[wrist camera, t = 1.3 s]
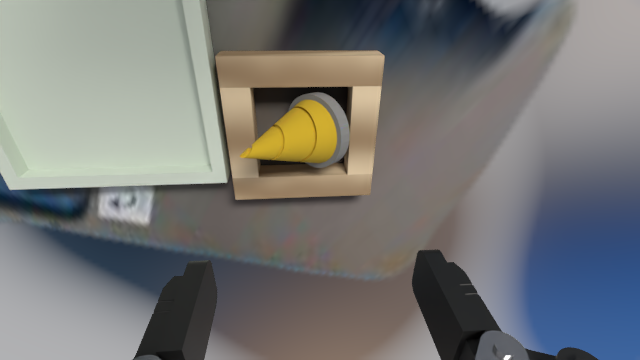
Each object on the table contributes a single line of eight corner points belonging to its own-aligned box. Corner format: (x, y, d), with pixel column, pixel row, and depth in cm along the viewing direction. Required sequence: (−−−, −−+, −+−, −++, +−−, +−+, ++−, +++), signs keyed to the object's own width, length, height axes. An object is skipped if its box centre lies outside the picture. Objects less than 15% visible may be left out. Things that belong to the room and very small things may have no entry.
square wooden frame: (220, 51, 23) (215, 56, 21) (377, 50, 24) (384, 55, 22) (238, 186, 28) (235, 199, 27) (365, 182, 29) (370, 194, 28)
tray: (-102, -74, 18) (-138, -79, 17) (196, -67, 20) (188, -71, 18) (26, 177, 26) (9, 189, 25) (230, 171, 28) (227, 182, 26)
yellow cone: (333, 160, 29) (236, 203, 22) (310, 100, 28) (204, 127, 21) (382, 144, 25) (282, 191, 18) (357, 75, 24) (245, 97, 17)
